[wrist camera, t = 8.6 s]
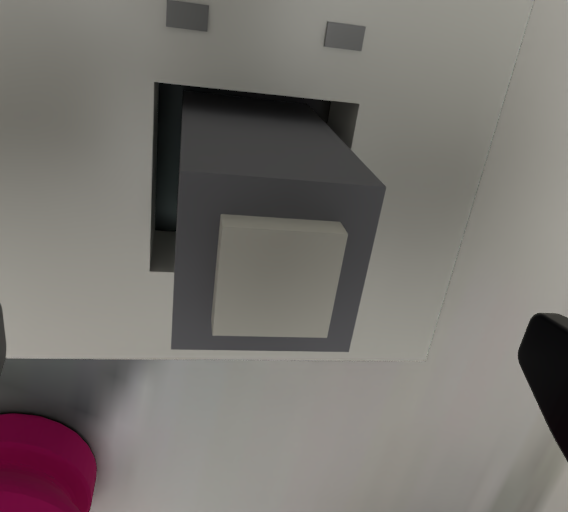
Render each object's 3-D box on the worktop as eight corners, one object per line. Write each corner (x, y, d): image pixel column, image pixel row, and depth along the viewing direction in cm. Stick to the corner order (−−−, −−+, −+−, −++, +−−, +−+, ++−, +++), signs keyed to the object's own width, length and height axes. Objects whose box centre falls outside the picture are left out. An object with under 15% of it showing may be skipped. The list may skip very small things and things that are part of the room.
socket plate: (397, 315, 22) (426, 363, 19) (30, 306, 19) (5, 360, 17) (481, -8, 17) (537, -5, 14) (-3, -84, 14) (-49, -98, 11)
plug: (290, 216, 19) (355, 368, 12) (177, 209, 19) (170, 367, 11) (307, 104, 18) (396, 197, 10) (183, 90, 17) (180, 181, 9)
